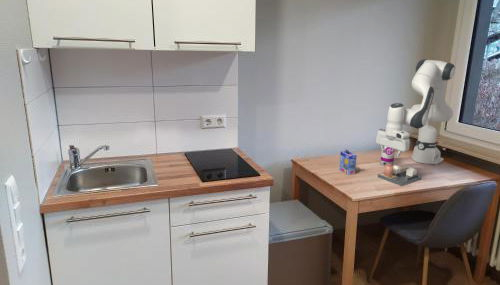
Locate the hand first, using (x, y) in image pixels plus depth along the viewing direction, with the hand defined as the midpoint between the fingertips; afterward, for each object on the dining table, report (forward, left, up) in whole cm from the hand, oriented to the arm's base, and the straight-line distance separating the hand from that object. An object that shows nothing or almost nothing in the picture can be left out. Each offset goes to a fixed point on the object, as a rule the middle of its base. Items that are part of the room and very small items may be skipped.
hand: (390, 154), depth 213 cm
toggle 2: (-12, +8, -13) cm, 19 cm away
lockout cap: (0, +1, -13) cm, 13 cm away
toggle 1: (-7, +1, -13) cm, 14 cm away
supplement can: (-22, -16, -15) cm, 31 cm away
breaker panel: (-7, +4, -15) cm, 17 cm away
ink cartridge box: (+12, -20, -15) cm, 28 cm away
